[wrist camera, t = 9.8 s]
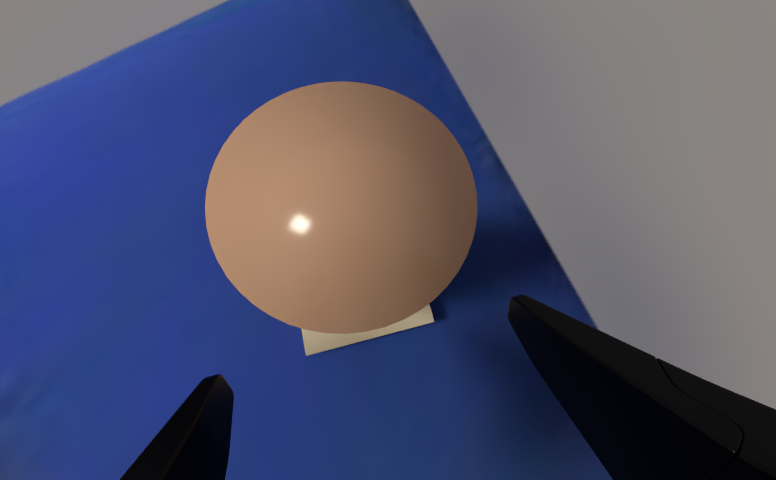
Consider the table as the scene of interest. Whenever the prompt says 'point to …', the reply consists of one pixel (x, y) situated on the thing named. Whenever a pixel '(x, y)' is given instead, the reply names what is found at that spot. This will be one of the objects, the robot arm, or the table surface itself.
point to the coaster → (361, 333)
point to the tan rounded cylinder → (341, 207)
